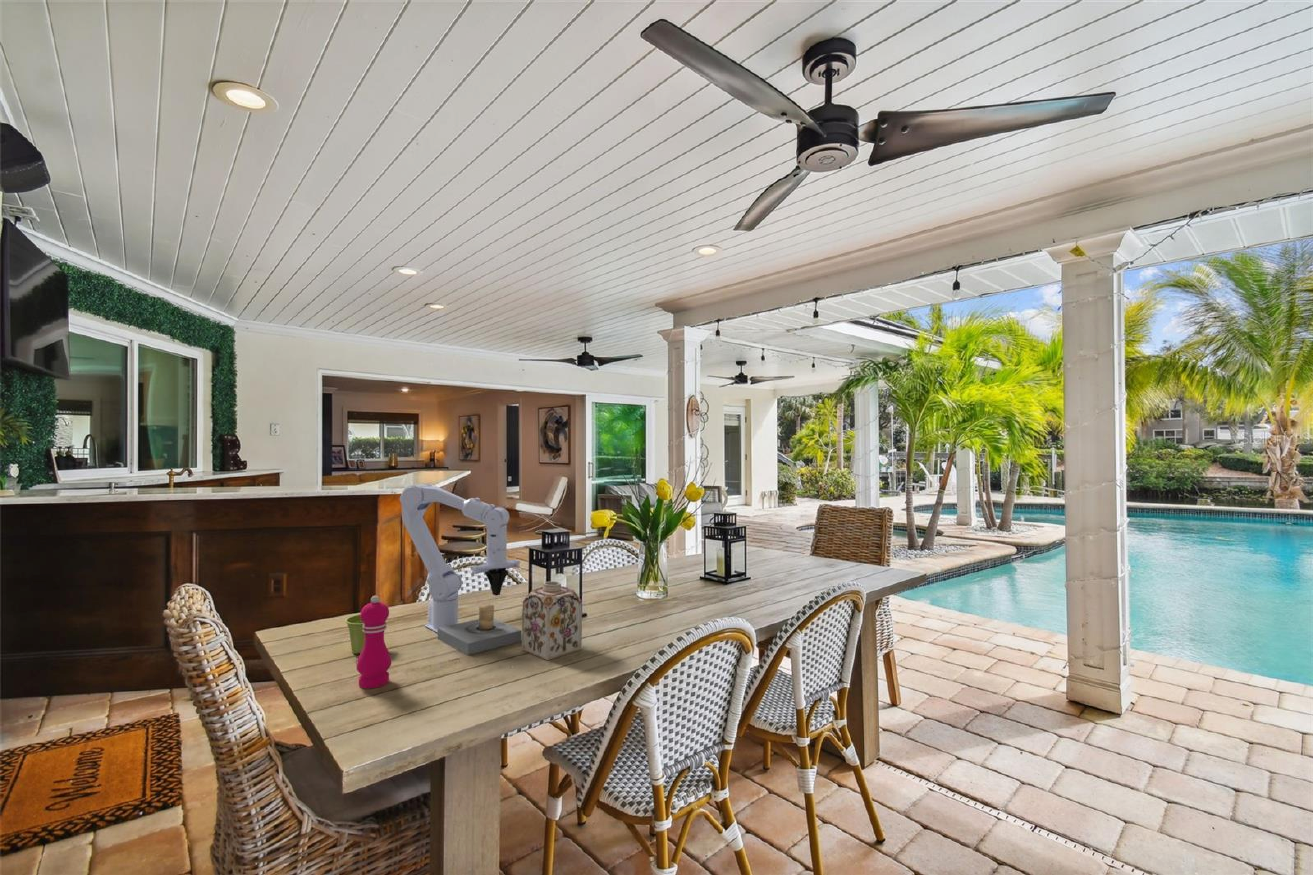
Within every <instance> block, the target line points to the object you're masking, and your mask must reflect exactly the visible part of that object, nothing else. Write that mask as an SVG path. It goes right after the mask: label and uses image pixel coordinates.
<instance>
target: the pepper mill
mask: <svg viewBox="0 0 1313 875" xmlns="http://www.w3.org/2000/svg"><path fill="white" fill-rule="evenodd" d="M389 616H390V609H389V607H388V605H387V604H386V603H384V602H381V601H380V597H379V596H378V595H372V597H371V598H370V602H369V603H367V604H366V605H364V606H363V607H362V608H361V610H360V618H361V620H362V622H363V623H364V625H363V630H362V631H363V632H364V633H365V643H364V647H363V649H362V652H361V653H359V656H358V659H357V662H356V670H357V672H358V673H359V674H360V675H359V677H358V686H359V687H360V688H362V689H375V688H380V687H383V686H385V685H387V684H388V683H389V682H390V673H389V671H388V670H389V669H390V668H391V666H392V657H391V654H390V651H389V649H388V648H387V645H386V642H385V631H386V629H387V622H386V621H387V620H388V618H389Z"/></svg>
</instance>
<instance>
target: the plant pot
mask: <svg viewBox="0 0 1313 875" xmlns="http://www.w3.org/2000/svg"><path fill="white" fill-rule="evenodd" d="M360 614H361V613H360ZM360 614H355V615H352V616H349V617H347V618H346V619H345V623H346V625H347V627H348V633H349V638H350V647H351V652H352V654H356V655H358V654H361V652H362V649H363V647H364V643H365V633H364V632H363V631H362V630H363V625H364V623H363V622H362V620H361V618H360Z"/></svg>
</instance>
